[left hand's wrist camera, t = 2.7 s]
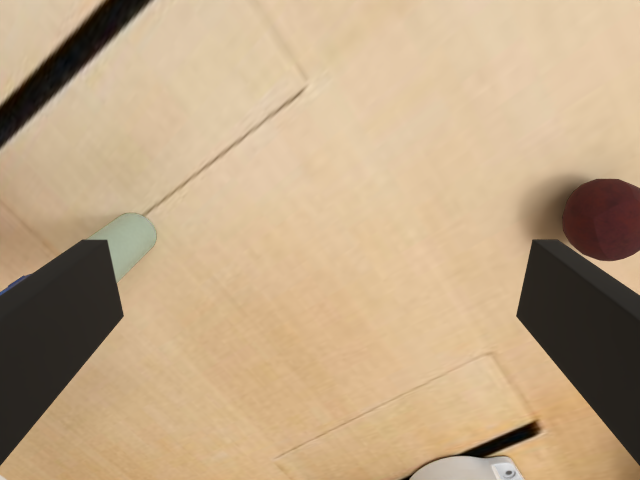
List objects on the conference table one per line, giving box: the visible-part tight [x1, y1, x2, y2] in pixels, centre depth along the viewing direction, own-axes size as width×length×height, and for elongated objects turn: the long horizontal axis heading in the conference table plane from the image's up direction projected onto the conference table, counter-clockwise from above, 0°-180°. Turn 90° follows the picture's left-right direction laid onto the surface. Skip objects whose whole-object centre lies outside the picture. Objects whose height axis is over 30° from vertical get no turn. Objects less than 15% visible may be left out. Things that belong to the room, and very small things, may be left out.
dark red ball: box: [562, 179, 640, 261], centre depth 38 cm, size 7×8×7 cm
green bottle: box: [86, 213, 156, 283], centre depth 35 cm, size 4×4×16 cm
